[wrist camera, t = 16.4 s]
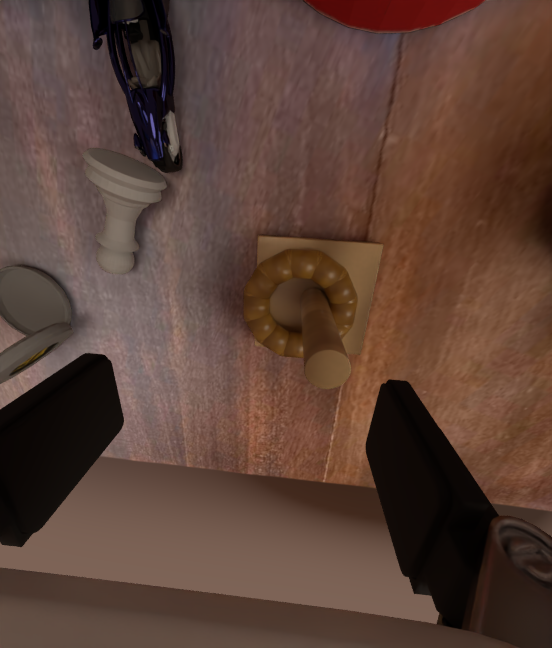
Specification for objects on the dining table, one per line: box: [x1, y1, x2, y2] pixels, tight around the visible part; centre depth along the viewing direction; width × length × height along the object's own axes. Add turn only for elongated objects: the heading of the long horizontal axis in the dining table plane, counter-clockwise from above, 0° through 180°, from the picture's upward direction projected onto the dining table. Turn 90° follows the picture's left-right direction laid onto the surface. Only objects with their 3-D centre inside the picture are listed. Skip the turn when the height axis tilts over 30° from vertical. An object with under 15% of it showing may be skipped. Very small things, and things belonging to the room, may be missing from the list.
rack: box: [255, 235, 383, 389], centre depth 16 cm, size 9×9×11 cm
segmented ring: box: [243, 249, 358, 358], centre depth 20 cm, size 8×8×2 cm
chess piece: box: [82, 148, 167, 274], centre depth 19 cm, size 5×5×8 cm
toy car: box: [89, 0, 182, 173], centre depth 15 cm, size 12×6×4 cm, turn 5°
